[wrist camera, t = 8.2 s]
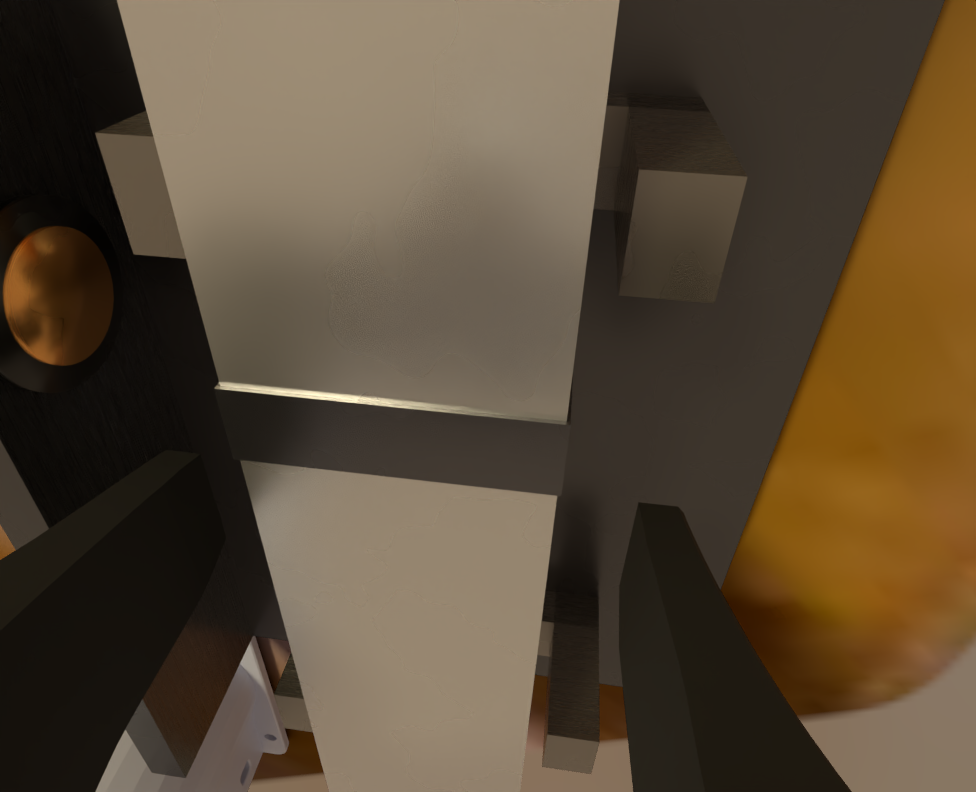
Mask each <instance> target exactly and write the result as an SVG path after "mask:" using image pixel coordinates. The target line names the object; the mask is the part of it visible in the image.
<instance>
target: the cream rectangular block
mask: <svg viewBox="0 0 976 792" xmlns="http://www.w3.org/2000/svg"><path fill="white" fill-rule="evenodd" d="M619 1H620V0H117V2H118V6H119V10H120V14H121V17H122V21H123V25H124V29H125V32H126V36H127V40H128V44H129V47H130V51H131V55H132V58H133V62H134V66H135V70H136V73H137V77H138V81H139V85H140V88H141V92H142V96H143V100H144V103H145V107H146V111H147V114H148V118H149V122H150V126H151V129H152V133H153V137H154V141H155V144H156V148H157V152H158V156H159V159H160V163H161V167H162V170H163V174H164V178H165V182H166V185H167V189H168V193H169V197H170V200H171V204H172V208H173V212H174V215H175V219H176V223H177V226H178V230H179V234H180V238H181V241H182V245H183V249H184V253H185V256H186V260H187V264H188V268H189V271H190V275H191V279H192V282H193V286H194V290H195V294H196V297H197V301H198V305H199V309H200V312H201V316H202V320H203V324H204V327H205V331H206V335H207V338H208V342H209V346H210V350H211V353H212V357H213V361H214V365H215V368H216V372H217V376H218V380H219V383H218V384H217V385H216V387H215V388H214V391H215V394H216V398H217V402H218V405H219V409H220V413H221V416H222V420H223V423H224V427H225V431H226V434H227V438H228V442H229V445H230V449H231V452H232V456H233V459H235V460H240V462H241V465H242V469H243V473H244V477H245V480H246V484H247V488H248V492H249V495H250V499H251V503H252V506H253V510H254V514H255V518H256V521H257V525H258V529H259V533H260V536H261V540H262V544H263V547H264V551H265V555H266V559H267V562H268V566H269V570H270V574H271V577H272V581H273V585H274V589H275V592H276V596H277V600H278V603H279V607H280V611H281V615H282V618H283V622H284V626H285V630H286V633H287V637H288V641H289V645H290V648H291V652H292V656H293V659H294V663H295V667H296V671H297V674H298V678H299V682H300V686H301V689H302V693H303V697H304V701H305V704H306V708H307V712H308V715H309V719H310V723H311V727H312V730H313V734H314V738H315V742H316V745H317V749H318V753H319V757H320V760H321V764H322V768H323V771H324V775H325V779H326V783H327V786H328V790H329V792H520V788H521V779H522V772H523V764H524V756H525V748H526V740H527V732H528V724H529V716H530V708H531V700H532V693H533V685H534V677H535V669H536V661H537V653H538V645H539V637H540V629H541V621H542V613H543V605H544V597H545V589H546V581H547V573H548V565H549V557H550V549H551V541H552V534H553V526H554V518H555V510H556V502H557V496H561V495H562V487H563V479H564V472H565V464H566V456H567V449H568V441H569V434H570V426H571V406H572V386H573V367H574V359H575V351H576V343H577V335H578V327H579V319H580V311H581V303H582V295H583V287H584V279H585V271H586V263H587V255H588V247H589V239H590V231H591V224H592V216H593V208H594V200H595V192H596V184H597V176H598V168H599V160H600V152H601V144H602V136H603V128H604V120H605V112H606V104H607V96H608V88H609V80H610V72H611V65H612V57H613V49H614V41H615V33H616V25H617V17H618V9H619Z"/></svg>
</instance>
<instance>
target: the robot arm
mask: <svg viewBox="0 0 976 792" xmlns="http://www.w3.org/2000/svg"><path fill="white" fill-rule="evenodd" d="M225 540H226V534H225V531H224V528H223V525H222V521H221V518H220V515H219V512H218V509H217V505H216V502H215V499H214V496H213V492H212V489H211V486H210V483H209V480H208V476H207V473H206V470H205V467H204V463H203V460H202V457H201V454H197V453H188V452H179V451H170V450H165V451H164V452H162V453H161V454H159V455H157V456H156V457H154V458H153V459H151V460H150V461H148V462H147V463H145V464H144V465H142V466H141V467H139V468H138V469H136V470H135V471H133V472H132V473H130V474H129V475H127V476H126V477H124V478H123V479H121V480H120V481H119V482H117V483H116V484H114V485H113V486H111V487H110V488H108V489H107V490H105V491H104V492H103V493H101V494H100V495H98V496H97V497H95V498H94V499H92V500H91V501H90V502H88V503H87V504H85V505H84V506H82V507H81V508H79V509H78V510H76V511H75V512H73V513H72V514H70V515H69V516H67V517H66V518H64V519H63V520H61V521H60V522H58V523H57V524H56V525H54V526H53V527H51V528H50V529H48V530H47V531H45V532H44V533H42V534H41V535H39V536H38V537H36V538H35V539H33V540H32V541H30V542H28V543H27V544H25V545H24V546H22V547H20V548H19V549H17V550H16V551H14V552H12V553H11V554H9V555H8V556H6V557H5V558H3V559H1V560H0V792H248V789H249V786H250V784H251V781H252V779H253V776H254V774H255V771H256V769H257V766H258V764H259V761H260V759H261V756H262V754H263V752H265V753H272V754H284V753H285V752H286V751H287V748H288V745H289V741H288V738H287V735H286V731H285V728H284V725H283V722H282V719H281V716H280V713H279V710H278V706H277V703H276V700H275V697H274V694H273V691H272V687H271V684H270V681H269V678H268V675H267V672H266V669H265V665H264V662H263V659H262V656H261V653H260V650H259V647H258V643H257V640H256V637H255V636H253V637H252V640H251V642H250V644H249V646H248V648H247V650H246V652H245V654H244V656H243V659H242V661H241V663H240V665H239V667H238V669H237V671H236V673H235V675H234V678H233V680H232V682H231V684H230V686H229V688H228V690H227V692H226V694H225V696H224V699H223V701H222V703H221V705H220V707H219V709H218V711H217V713H216V715H215V718H214V720H213V722H212V724H211V726H210V728H209V730H208V732H207V734H206V737H205V739H204V741H203V743H202V745H201V747H200V749H199V751H198V753H197V756H196V758H195V760H194V762H193V764H192V766H191V768H190V770H189V772H188V775H187V777H186V778H181V777H175V776H168V775H162V774H156V773H152V772H151V771H150V769H149V767H148V766H147V764H146V762H145V761H144V759H143V758H142V756H141V754H140V753H139V751H138V749H137V748H136V746H135V744H134V743H133V741H132V740H131V738H130V736H129V735H128V733H127V731H126V730H125V729H126V727H127V725H128V724H129V722H130V720H131V718H132V716H133V715H134V713H135V711H136V709H137V708H138V706H139V704H140V703H141V701H142V699H143V697H144V696H145V694H146V692H147V691H148V689H149V687H150V685H151V684H152V682H153V680H154V678H155V677H156V675H157V673H158V672H159V670H160V668H161V666H162V665H163V663H164V661H165V660H166V658H167V656H168V654H169V653H170V651H171V649H172V648H173V646H174V644H175V642H176V641H177V639H178V637H179V636H180V634H181V632H182V630H183V629H184V627H185V625H186V623H187V622H188V620H189V618H190V616H191V615H192V613H193V611H194V609H195V608H196V606H197V604H198V602H199V600H200V598H201V597H202V595H203V593H204V591H205V588H206V586H207V584H208V582H209V579H210V577H211V575H212V572H213V570H214V568H215V565H216V563H217V560H218V558H219V555H220V553H221V550H222V548H223V545H224V543H225ZM619 653H620V664H621V674H622V684H623V694H624V704H625V714H626V724H627V734H628V743H629V753H630V763H631V773H632V782H633V792H851V790H850V789H849V788H848V786H847V785H846V784H845V782H844V781H843V780H842V778H841V777H840V776H839V775H838V773H837V772H836V771H835V769H834V768H833V766H832V765H831V764H830V762H829V761H828V760H827V758H826V757H825V756H824V754H823V753H822V751H821V750H820V748H819V747H818V746H817V745H816V743H815V742H814V740H813V739H812V737H811V736H810V735H809V733H808V732H807V730H806V729H805V727H804V726H803V724H802V723H801V722H800V720H799V719H798V717H797V716H796V714H795V713H794V711H793V710H792V708H791V707H790V705H789V704H788V702H787V701H786V699H785V698H784V696H783V695H782V693H781V691H780V690H779V688H778V687H777V685H776V684H775V682H774V681H773V679H772V677H771V676H770V674H769V673H768V671H767V670H766V668H765V666H764V665H763V663H762V662H761V660H760V658H759V657H758V655H757V653H756V652H755V650H754V648H753V647H752V645H751V643H750V642H749V640H748V638H747V636H746V635H745V633H744V631H743V629H742V628H741V626H740V624H739V622H738V621H737V619H736V617H735V615H734V614H733V612H732V610H731V608H730V606H729V605H728V603H727V601H726V599H725V597H724V596H723V594H722V592H721V590H720V588H719V586H718V584H717V582H716V580H715V578H714V577H713V575H712V573H711V571H710V569H709V567H708V565H707V563H706V561H705V559H704V557H703V555H702V553H701V550H700V548H699V546H698V544H697V542H696V540H695V538H694V536H693V533H692V531H691V529H690V527H689V524H688V522H687V520H686V517H685V515H684V513H683V512H682V510H681V509H680V508H679V507H678V506H669V505H660V504H651V503H642V502H638V506H637V511H636V515H635V519H634V524H633V528H632V532H631V537H630V541H629V545H628V550H627V554H626V559H625V563H624V567H623V572H622V576H621V580H620V585H619Z"/></svg>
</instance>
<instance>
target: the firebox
mask: <svg viewBox="0 0 976 792" xmlns="http://www.w3.org/2000/svg"><path fill="white" fill-rule="evenodd" d="M944 1H945V0H620V1H619V9H618V17H617V25H616V33H615V41H614V49H613V57H612V65H611V72H610V80H609V88H608V96H607V104H606V112H605V120H604V128H603V136H602V144H601V152H600V160H599V168H598V176H597V184H596V192H595V200H594V208H593V216H592V224H591V231H590V239H589V247H588V255H587V263H586V271H585V279H584V287H583V295H582V303H581V311H580V319H579V327H578V335H577V343H576V351H575V359H574V367H573V386H572V406H571V426H570V434H569V441H568V449H567V456H566V464H565V472H564V479H563V487H562V495H561V496H557V502H556V510H555V518H554V526H553V534H552V541H551V549H550V557H549V565H548V573H547V581H546V589H545V597H544V605H543V613H542V621H541V629H540V637H539V645H538V653H537V661H536V669H535V675H541V676H548V681H547V697H546V713H545V729H544V745H543V762H542V767H547V768H554V769H561V770H568V771H574V772H580V773H587V774H591V772H592V769H593V765H594V761H595V757H596V753H597V749H598V746H599V684H606V685H613V686H621V687H623V684H622V674H621V664H620V653H619V585H620V580H621V576H622V572H623V567H624V563H625V559H626V554H627V550H628V545H629V541H630V537H631V532H632V528H633V524H634V519H635V515H636V511H637V506H638V502H642V503H651V504H660V505H669V506H678V507H679V508H680V509H681V510H682V512H683V513H684V515H685V517H686V520H687V522H688V524H689V527H690V529H691V531H692V533H693V536H694V538H695V540H696V542H697V544H698V546H699V548H700V550H701V553H702V555H703V557H704V559H705V561H706V563H707V565H708V567H709V569H710V571H711V573H712V575H713V577H714V578H715V580H716V582H717V584H718V586H719V588H720V590H721V587H722V585H723V582H724V579H725V577H726V574H727V572H728V569H729V566H730V564H731V561H732V558H733V556H734V553H735V550H736V548H737V545H738V543H739V540H740V537H741V535H742V532H743V529H744V527H745V524H746V522H747V519H748V516H749V514H750V511H751V508H752V506H753V503H754V501H755V498H756V495H757V493H758V490H759V487H760V485H761V482H762V479H763V477H764V474H765V472H766V469H767V466H768V464H769V461H770V458H771V456H772V453H773V451H774V448H775V445H776V443H777V440H778V437H779V435H780V432H781V430H782V427H783V424H784V422H785V419H786V416H787V414H788V411H789V408H790V406H791V403H792V401H793V398H794V395H795V393H796V390H797V387H798V385H799V382H800V380H801V377H802V374H803V372H804V369H805V366H806V364H807V361H808V359H809V356H810V353H811V351H812V348H813V345H814V343H815V340H816V337H817V335H818V332H819V330H820V327H821V324H822V322H823V319H824V316H825V314H826V311H827V309H828V306H829V303H830V301H831V298H832V295H833V293H834V290H835V288H836V285H837V282H838V280H839V277H840V274H841V272H842V269H843V267H844V264H845V261H846V259H847V256H848V253H849V251H850V248H851V245H852V243H853V240H854V238H855V235H856V232H857V230H858V227H859V224H860V222H861V219H862V217H863V214H864V211H865V209H866V206H867V203H868V201H869V198H870V196H871V193H872V190H873V188H874V185H875V182H876V180H877V177H878V174H879V172H880V169H881V167H882V164H883V161H884V159H885V156H886V153H887V151H888V148H889V146H890V143H891V140H892V138H893V135H894V132H895V130H896V127H897V125H898V122H899V119H900V117H901V114H902V111H903V109H904V106H905V103H906V101H907V98H908V96H909V93H910V90H911V88H912V85H913V82H914V80H915V77H916V75H917V72H918V69H919V67H920V64H921V61H922V59H923V56H924V54H925V51H926V48H927V46H928V43H929V40H930V38H931V35H932V32H933V30H934V27H935V25H936V22H937V19H938V17H939V14H940V11H941V9H942V6H943V4H944ZM218 383H219V380H218V376H217V372H216V368H215V365H214V361H213V357H212V353H211V350H210V346H209V342H208V338H207V335H206V331H205V327H204V324H203V320H202V316H201V312H200V309H199V305H198V301H197V297H196V294H195V290H194V286H193V282H192V279H191V275H190V271H189V268H188V264H187V260H186V256H185V253H184V249H183V245H182V241H181V238H180V234H179V230H178V226H177V223H176V219H175V215H174V212H173V208H172V204H171V200H170V197H169V193H168V189H167V185H166V182H165V178H164V174H163V170H162V167H161V163H160V159H159V156H158V152H157V148H156V144H155V141H154V137H153V133H152V129H151V126H150V122H149V118H148V114H147V111H146V107H145V103H144V100H143V96H142V92H141V88H140V85H139V81H138V77H137V73H136V70H135V66H134V62H133V58H132V55H131V51H130V47H129V44H128V40H127V36H126V32H125V29H124V25H123V21H122V17H121V14H120V10H119V6H118V2H117V0H0V525H1V526H2V528H3V529H4V531H5V533H6V534H7V536H8V538H9V539H10V541H11V543H12V544H13V546H14V547H15V549H16V550H17V549H19V548H20V547H22V546H24V545H25V544H27V543H28V542H30V541H32V540H33V539H35V538H36V537H38V536H39V535H41V534H42V533H44V532H45V531H47V530H48V529H50V528H51V527H53V526H54V525H56V524H57V523H58V522H60V521H61V520H63V519H64V518H66V517H67V516H69V515H70V514H72V513H73V512H75V511H76V510H78V509H79V508H81V507H82V506H84V505H85V504H87V503H88V502H90V501H91V500H92V499H94V498H95V497H97V496H98V495H100V494H101V493H103V492H104V491H105V490H107V489H108V488H110V487H111V486H113V485H114V484H116V483H117V482H119V481H120V480H121V479H123V478H124V477H126V476H127V475H129V474H130V473H132V472H133V471H135V470H136V469H138V468H139V467H141V466H142V465H144V464H145V463H147V462H148V461H150V460H151V459H153V458H154V457H156V456H157V455H159V454H161V453H162V452H164V451H165V450H170V451H179V452H188V453H197V454H201V457H202V460H203V463H204V467H205V470H206V473H207V476H208V480H209V483H210V486H211V489H212V492H213V496H214V499H215V502H216V505H217V509H218V512H219V515H220V518H221V521H222V525H223V528H224V531H225V534H226V540H225V543H224V545H223V548H222V550H221V553H220V555H219V558H218V560H217V563H216V565H215V568H214V570H213V572H212V575H211V577H210V579H209V582H208V584H207V586H206V588H205V591H204V593H203V595H202V597H201V598H200V600H199V602H198V604H197V606H196V608H195V609H194V611H193V613H192V615H191V616H190V618H189V620H188V622H187V623H186V625H185V627H184V629H183V630H182V632H181V634H180V636H179V637H178V639H177V641H176V642H175V644H174V646H173V648H172V649H171V651H170V653H169V654H168V656H167V658H166V660H165V661H164V663H163V665H162V666H161V668H160V670H159V672H158V673H157V675H156V677H155V678H154V680H153V682H152V684H151V685H150V687H149V689H148V691H147V692H146V694H145V696H144V697H143V699H142V701H141V703H140V704H139V706H138V708H137V709H136V711H135V713H134V715H133V716H132V718H131V720H130V722H129V724H128V725H127V727H126V729H125V730H126V731H127V733H128V735H129V736H130V738H131V740H132V741H133V743H134V744H135V746H136V748H137V749H138V751H139V753H140V754H141V756H142V758H143V759H144V761H145V762H146V764H147V766H148V767H149V769H150V771H151V772H152V773H156V774H162V775H168V776H175V777H181V778H186V777H187V775H188V772H189V770H190V768H191V766H192V764H193V762H194V760H195V758H196V756H197V753H198V751H199V749H200V747H201V745H202V743H203V741H204V739H205V737H206V734H207V732H208V730H209V728H210V726H211V724H212V722H213V720H214V718H215V715H216V713H217V711H218V709H219V707H220V705H221V703H222V701H223V699H224V696H225V694H226V692H227V690H228V688H229V686H230V684H231V682H232V680H233V678H234V675H235V673H236V671H237V669H238V667H239V665H240V663H241V661H242V659H243V656H244V654H245V652H246V650H247V648H248V646H249V644H250V642H251V640H252V637H253V636H258V637H265V638H272V639H279V640H287V641H288V637H287V633H286V630H285V626H284V622H283V618H282V615H281V611H280V607H279V603H278V600H277V596H276V592H275V589H274V585H273V581H272V577H271V574H270V570H269V566H268V562H267V559H266V555H265V551H264V547H263V544H262V540H261V536H260V533H259V529H258V525H257V521H256V518H255V514H254V510H253V506H252V503H251V499H250V495H249V492H248V488H247V484H246V480H245V477H244V473H243V469H242V465H241V462H240V460H235V459H233V456H232V452H231V449H230V445H229V442H228V438H227V434H226V431H225V427H224V423H223V420H222V416H221V413H220V409H219V405H218V402H217V398H216V394H215V391H214V388H215V387H216V385H217V384H218ZM274 697H275V700H276V703H277V706H278V710H279V713H280V716H281V719H282V722H283V725H284V728H287V729H294V730H301V731H307V732H313V730H312V727H311V723H310V719H309V715H308V712H307V708H306V704H305V701H304V697H303V693H302V689H301V686H300V682H299V678H298V674H297V671H296V667H295V663H294V659H293V656H292V652H291V654H290V657H289V659H288V662H287V664H286V666H285V669H284V671H283V674H282V676H281V679H280V681H279V683H278V686H277V688H276V691H275V693H274Z"/></svg>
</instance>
